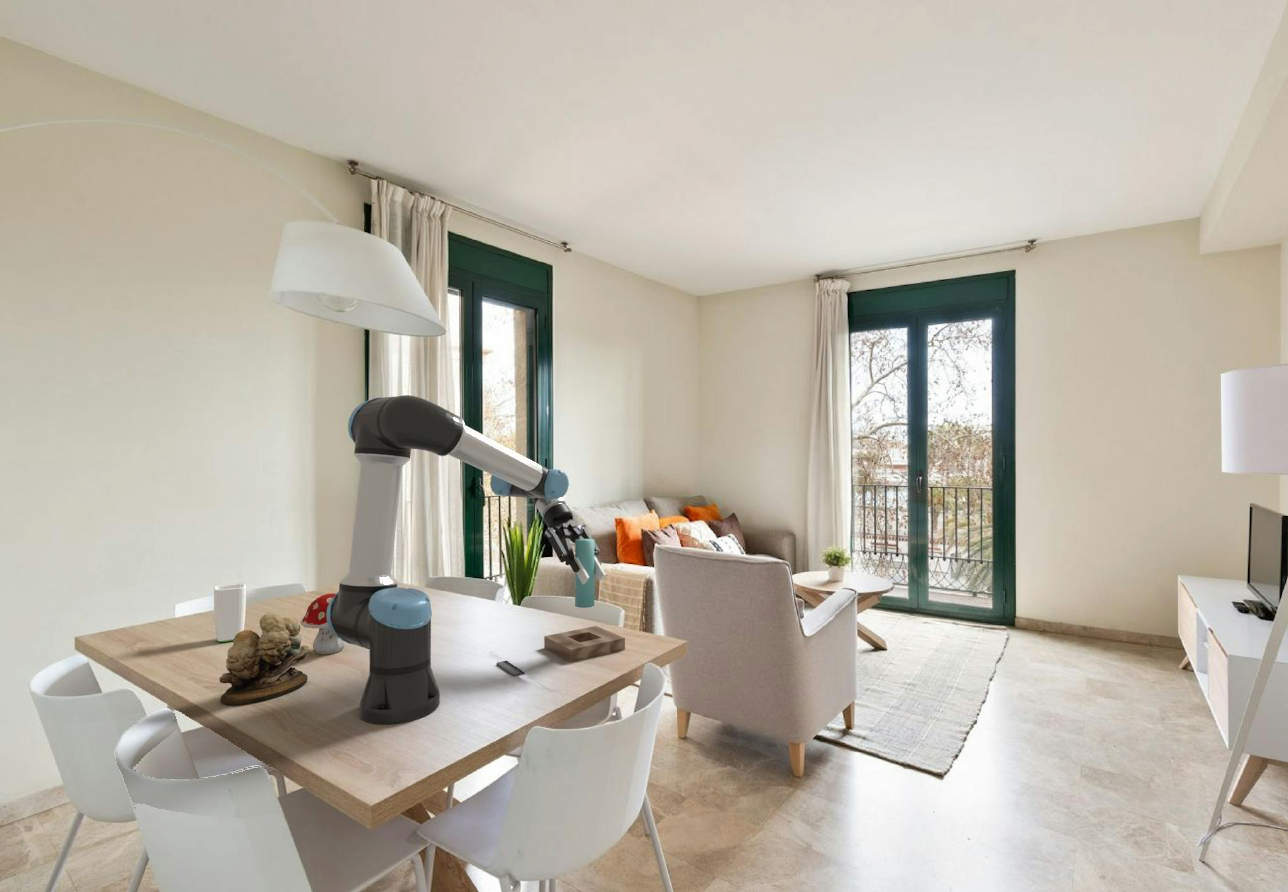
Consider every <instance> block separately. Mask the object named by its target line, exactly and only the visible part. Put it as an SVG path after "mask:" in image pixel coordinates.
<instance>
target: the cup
mask: <svg viewBox="0 0 1288 892" xmlns="http://www.w3.org/2000/svg"><path fill="white" fill-rule="evenodd" d="M246 607H247V585H246V584H245V583H232V584H222V585H215V586H214V587H213V612H214V613H213V615H214V618H213V619H214V626H215V627H214V628H215V636H216V639H217V642H219V643H227V642H233V639H234V637H235V635H237V633H239V632H241V631H243V630H245V622H246V612H247V611H246Z"/></svg>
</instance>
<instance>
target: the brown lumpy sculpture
mask: <svg viewBox="0 0 1288 892" xmlns="http://www.w3.org/2000/svg"><path fill="white" fill-rule="evenodd" d="M301 626H302V625H301V623H300V622H299V620H298V619H297V618H296V617H292V616H285V617H282V616H281V615H280V614H278V613H276V612H274V613H273V612H267V613H266V614H264V615H262V616H261V618H260V619H259V627H260V629H261V631H262V633H261V635H259V634H258V633H257V632H255V631H253V630H251V629H250V630H249V629H248V630H247V629H246V630H245V629H244V630H243V631H241V632H239V633H237V635H235V637H234V639H233V641H232V645H231V646H230V647H229V648H228V650H227V658H226V660H225V663H226V665H225V667H226V670H227V671H228V672H225V673H223V674H221V676H220V677H219V682H220V683H221V684H230V685H231V686H230V687H228V688H227V689H226V691H225V692H224V693H222V694H221V696H220V703H221V704H222V705H226V706H232V707H235V706H244V705H249V704H250V705H251V704H255V703H259V702H264V701H268V700H272V699H274V698H277V697H281V696H283V695H287V694H290V693H292V692H294V691H296V690H298V689H300V688H302V687H303V686H304V685H305V684H307V682H308V677H309V676H308V675H307V673H304V672H303V671H301V670H298V669H296V667H292V666H294V665H296V664H298V663H300V662H301V661H303V660H304V659H306V658H305V657H306V655H307V654H308V653H309V652H310V650H309V646H308V645H302V635H301V634H300V632H301Z"/></svg>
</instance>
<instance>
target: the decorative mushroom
mask: <svg viewBox="0 0 1288 892" xmlns="http://www.w3.org/2000/svg"><path fill="white" fill-rule="evenodd" d="M336 593H337V592H336ZM336 593H335V592H333V593H332V592H331V593H325V594H322V595H320V596H318V597H317V598H316V599H314V600H313V601H312V602H311V603H310V604H309V605H308V607H307V609H306V612H305V615H304V617H303V618H302V619H301V620H300V622H299V624H300V626H302V627H303V628H306V629H318V632H317V635H316V636H315V638H314V640H313V643H312V649H313V650H314V651H315V652H316V653H317V654H319V655H330V654H337V653H340V652H341V651H343V650H344V649H345V647H346V646H347V644H348V643H346V642H345V641H343V640H342V639H340V638H338V637H337V636H336V635H334V634H333V632H332V631H331V630H330V628H329V626H328V623H327V608H328V605H329V603H330V601H331V599H332V598H333V597H334V596H335V595H336Z"/></svg>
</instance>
